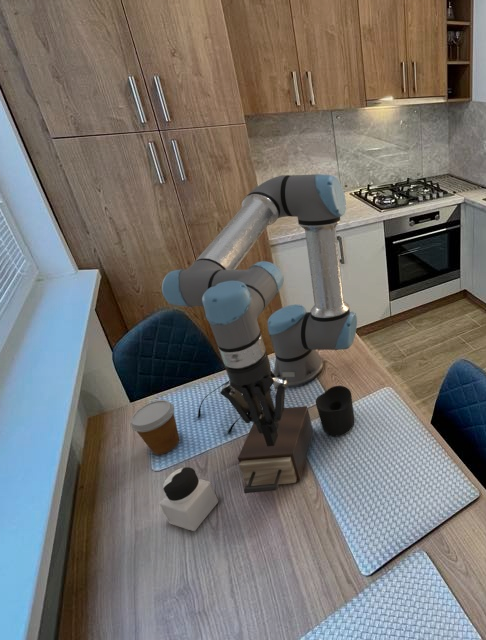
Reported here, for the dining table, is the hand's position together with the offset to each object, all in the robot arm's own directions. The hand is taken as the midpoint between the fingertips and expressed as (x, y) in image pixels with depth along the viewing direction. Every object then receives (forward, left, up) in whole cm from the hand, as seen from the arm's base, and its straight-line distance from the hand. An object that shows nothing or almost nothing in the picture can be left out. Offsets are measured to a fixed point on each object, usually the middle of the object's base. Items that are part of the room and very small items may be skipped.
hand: (272, 440), depth 89 cm
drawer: (-6, -4, -16) cm, 18 cm away
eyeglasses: (-29, -23, -17) cm, 41 cm away
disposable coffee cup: (-17, -37, -17) cm, 44 cm away
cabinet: (-10, -4, -17) cm, 20 cm away
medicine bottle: (+3, -20, -17) cm, 27 cm away
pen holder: (-19, +9, -17) cm, 27 cm away
